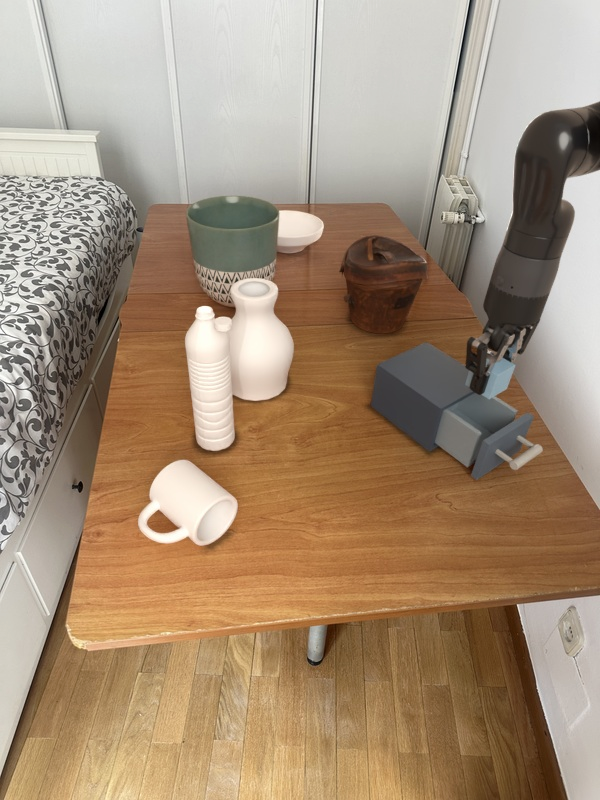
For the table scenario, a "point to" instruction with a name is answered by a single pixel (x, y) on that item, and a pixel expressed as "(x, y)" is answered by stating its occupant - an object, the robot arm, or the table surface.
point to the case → (381, 282)
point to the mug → (188, 505)
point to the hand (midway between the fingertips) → (487, 385)
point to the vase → (258, 342)
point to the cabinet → (419, 391)
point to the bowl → (297, 230)
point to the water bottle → (210, 379)
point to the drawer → (485, 434)
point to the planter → (232, 242)
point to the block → (496, 378)
